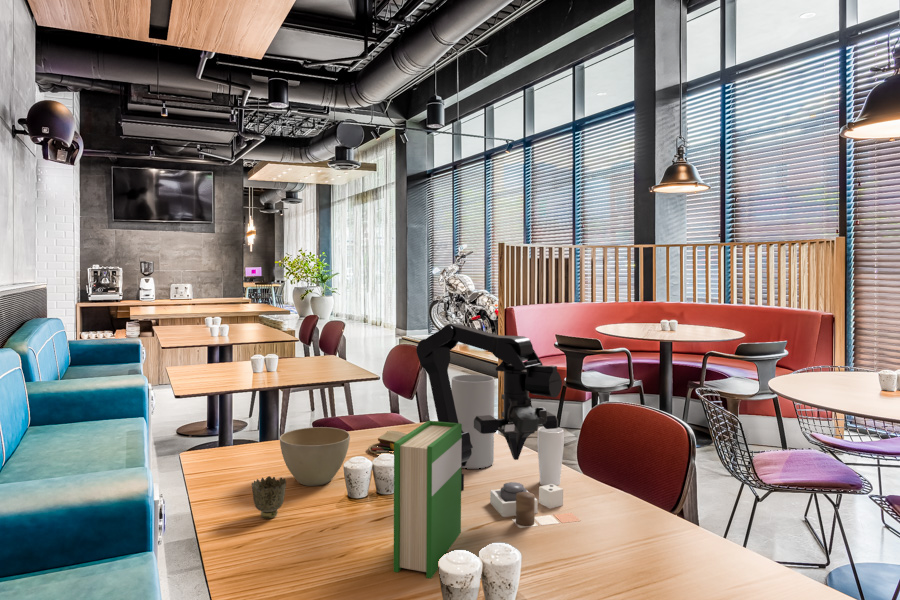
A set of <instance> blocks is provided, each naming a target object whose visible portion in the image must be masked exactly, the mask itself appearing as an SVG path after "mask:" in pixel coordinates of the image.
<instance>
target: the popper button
mask: <svg viewBox="0 0 900 600" xmlns="http://www.w3.org/2000/svg"><path fill="white" fill-rule="evenodd" d="M500 489H501V496H500V497H501V498H502V499H503V500H504V501H505V502H509V501H516V494H517V493H519V492H527V491H528V490H527V489H526V488H525V486H524V484H522V483H520V482H515V481H513V482H512V481H511V482H510V481H509V482H505V483H504V484H503V486H502V487H500Z"/></svg>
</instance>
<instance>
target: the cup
mask: <svg viewBox="0 0 900 600" xmlns="http://www.w3.org/2000/svg"><path fill="white" fill-rule="evenodd" d="M286 485H287V480H286V478H285V477H284V478H283V477H282V476H281V477H280V478H279V479H276V476H273V477H271V476H267V477H266V478H264V477H261V479H260V480H259V479H257V478H256V481H255V480H253V482H251V489H252V499H253V504H254V506H255V508H256V509H257V510H258V511H260V517H261V518H263V519H266V520H267V519H273V518H275V517H277V515H278V510H279V509H280V508H281V507H282V505H283V504H284V501H285V495H286Z"/></svg>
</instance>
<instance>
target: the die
mask: <svg viewBox="0 0 900 600" xmlns="http://www.w3.org/2000/svg"><path fill="white" fill-rule="evenodd" d="M538 503H539V504H540V505H542V506H544V507H545V508H548V509H554V508H557V507H561V506H564V488H562V487H560V486H559V485H557V486H556V485H554V484H549V485H541V486H539V487H538Z"/></svg>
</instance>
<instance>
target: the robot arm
mask: <svg viewBox="0 0 900 600" xmlns="http://www.w3.org/2000/svg"><path fill="white" fill-rule="evenodd" d="M458 343H461V344H464V345H467V346H470V347H474V348H477V349H480V350H484V351H486V352H489V353H491V354H492V355H493V356H494V357H495V358H497V359H498V360H500V361H501V363H500V364H499V365H498V366H496V367H495V369H494V370H495V371H496V372H503V393H502V394H501V400H503V411H501V417H503V418H495V416H494V417H492V416H491V415H486V416H476V418H475V419H474V428H475V429H476V430H477V431H479V432H480V433H482V434H488V433H494V434H495V433H497V431H498V432H500V433H501V434H502V435H503V437H504V438H505V441H506V443H507V447H508V448H509V451H510V453H511V457H512V459H513V460H514V461H517V460H518V461H519V458H520V456H521V452H522V451H523V447H524V445H525V443H526V441H527V438H528V437H529V436H531V435H533V434H535V432H538V428H539V425H541V426H542V427H543V426H544V428H545V429H556V428H558V427H559V420H558V416H556V415H555V414H553V413H551V412H549V411H548V410H547V409H546V408H545V406H542V407H540V406H539V407H533V405H532V400H531V397H529V396H530V395H529V394H531V395H535V396H541V397H548V398H558V396H559V395H560V393H561V391H562V387H563V380H562V378H561V375H560V374H561V373H560V372H558V366H557V365H543V363H542V360H541V359H540V358H539V356H538V354H537V352H536V351H535V349H534V347H533V343H532V342H531V339H530V338H528V337H527V336H522V335H521V336H520V335H499V334H496V333H493V332H488V331H484V330H481V329H477V328H474V327H470V326H466V325H463V324H462V323H457V322H456V323H447V324H446V325H445V326H443V327H442V328H441V329H440V330H438V331H436V332H435V333H432V334H431V335H429V336H427V338H423V339H421V340H420V341H419V342H418V343H417V345H416V350H415V351H416V355H417V358H418V361H419V363H420V366H421V367H422V368H423V370H424V371H425V372H426V374H427V375H428V378H429V382H430V388H431V393H432V398H433V403H434V408H435V412H436V413H435V414H436V416H437V421H439V422H449V423H458V418H457V414H456V409H455V404H454V399H453V395H452V384H451V382H450V377H449V373H448V372H449V371H448V369H449V366H450V364H451V363H450V362H451V350H453V349H454V348H455V347H456V346H457V345H458ZM471 448H473V446H472V444H471V441H470V434H469V432H466V433H464V432H463V431H462V450H461V467H463V466H466V463H467V460H468V459H469V458H470V456H471V454H472V450H471ZM464 478H465V475H464V474H463V468H461V492H462V491H464V490H465V487H464V486H465V484H464V483H465V479H464Z"/></svg>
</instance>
